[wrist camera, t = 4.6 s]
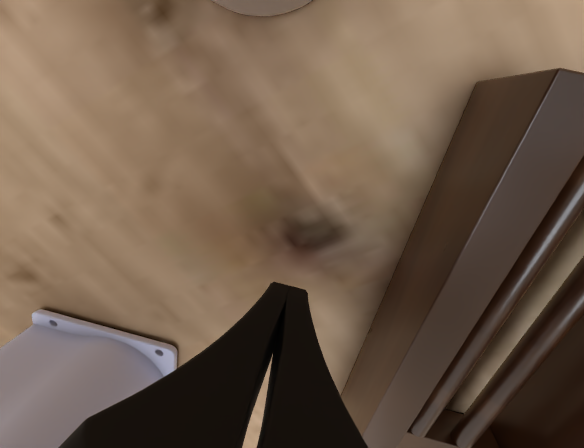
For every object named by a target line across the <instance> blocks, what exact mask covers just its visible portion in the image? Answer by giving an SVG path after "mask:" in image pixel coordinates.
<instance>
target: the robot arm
mask: <svg viewBox="0 0 584 448" xmlns="http://www.w3.org/2000/svg"><path fill="white" fill-rule="evenodd" d="M32 320H33V325H32V326H30V327H29V328H27V329H26V330H25V331H23V332H22V333H21V334H19V335H18V336H16V337H15V338H14V339H12V340H11V341H9V342H8V343H7V344H5V345H4V346H3V347H1V348H0V448H242V446H243V442H244V438H245V435H246V431H247V427H248V424H249V421H250V417H251V414H252V411H253V408H254V405H255V403H256V400H257V397H258V394H259V391H260V388H261V386H262V383H263V380H264V377H265V374H266V371H267V369H268V366H269V363H270V360H271V357H272V354H273V358H272V364H271V371H270V377H269V384H268V390H267V397H266V404H265V410H264V416H263V422H262V427H261V432H260V436H259V441H258V445H257V448H369V447H368V446H367V444H366V443H365V441H364V439H363V437H362V436H361V434H360V432H359V430H358V428H357V427H356V425H355V423H354V421H353V419H352V417H351V416H350V414H349V412H348V410H347V408H346V407H345V405H344V403H343V401H342V398H341V396H340V394H339V392H338V390H337V388H336V386H335V384H334V381H333V379H332V377H331V375H330V372H329V370H328V367H327V365H326V362H325V360H324V357H323V354H322V351H321V349H320V346H319V343H318V339H317V336H316V333H315V329H314V326H313V322H312V318H311V313H310V308H309V302H308V293H307V291H306V290H304V289H300V288H296V287H292V286H288V285H284V284H281V283H277V282H273V283H271V284H270V286H269V287H268V289H267V290H266V291H265V293H264V294H263V295H262V297H261V298H260V299H259V300H258V301H257V302H256V304H255V305H254V306H253V307H252V308H251V309H250V310H249V311H248V312H247V313H246V314H245V315H244V316H243V317H242V318H241V319H240V320H239V321H238V322H237V323H236V324H235V325H234V326H233V327H231V328H230V329H229V330H228V331H227V332H226V333H225V334H224V335H222V336H221V337H220V338H219V339H218V340H216V341H215V342H214V343H213V344H211V345H210V346H209V347H207V348H206V349H205V350H203V351H202V352H201V353H199V354H198V355H196V356H195V357H194V358H192V359H191V360H189V361H188V362H187V363H185V364H184V365H182V366H181V367H179V368H177V349H176V348H175V347H174V346H173V345H170V344H167V343H163V342H159V341H156V340H152V339H149V338H145V337H141V336H138V335H134V334H130V333H127V332H123V331H120V330H116V329H112V328H109V327H105V326H101V325H98V324H94V323H90V322H87V321H83V320H80V319H76V318H72V317H69V316H65V315H61V314H58V313H54V312H50V311H47V310H43V309H39V310H37V311H35V312H34V313H33V314H32Z"/></svg>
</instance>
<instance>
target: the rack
mask: <svg viewBox="0 0 584 448" xmlns="http://www.w3.org/2000/svg"><path fill="white" fill-rule="evenodd" d="M583 209H584V73H582V72H577V71H572V70H567V69H563V68H557V69H551V70H545V71H539V72H533V73H527V74H521V75H515V76H509V77H503V78H497V79H491V80H485V81H479V82H477V83H476V86H475V88H474V90H473V93H472V95H471V97H470V100H469V102H468V104H467V107H466V109H465V111H464V113H463V116H462V118H461V120H460V123H459V125H458V127H457V130H456V132H455V134H454V137H453V139H452V141H451V143H450V146H449V148H448V150H447V153H446V155H445V157H444V160H443V162H442V164H441V167H440V169H439V171H438V173H437V176H436V178H435V180H434V183H433V185H432V187H431V190H430V192H429V194H428V197H427V199H426V201H425V203H424V206H423V208H422V210H421V213H420V215H419V217H418V220H417V222H416V224H415V226H414V229H413V231H412V233H411V236H410V238H409V240H408V243H407V245H406V247H405V250H404V252H403V254H402V256H401V259H400V261H399V263H398V266H397V268H396V270H395V273H394V275H393V277H392V280H391V282H390V284H389V286H388V289H387V291H386V293H385V296H384V298H383V300H382V303H381V305H380V307H379V310H378V312H377V314H376V316H375V319H374V321H373V323H372V326H371V328H370V330H369V333H368V335H367V337H366V340H365V342H364V344H363V346H362V349H361V351H360V353H359V356H358V358H357V360H356V363H355V365H354V367H353V369H352V372H351V374H350V376H349V379H348V381H347V383H346V386H345V388H344V390H343V393H342V395H341V398H342V401H343V403H344V405H345V407H346V408H347V410H348V412H349V414H350V416H351V417H352V419H353V421H354V423H355V425H356V427H357V428H358V430H359V432H360V434H361V436H362V437H363V439H364V441H365V443H366V444H367V446H368V447H369V448H584V256H583V258H582V259H581V260H580V262H579V263H578V264H577V266H576V267H575V268H574V270H573V271H572V272H571V274H570V275H569V276H568V277H567V279H566V280H565V281H564V283H563V284H562V285H561V287H560V288H559V289H558V291H557V292H556V293H555V295H554V296H553V297H552V299H551V300H550V301H549V303H548V304H547V305H546V307H545V308H544V309H543V311H542V312H541V313H540V315H539V316H538V317H537V319H536V320H535V321H534V323H533V324H532V325H531V327H530V328H529V329H528V331H527V332H526V333H525V334H524V336H523V337H522V338H521V340H520V341H519V342H518V344H517V345H516V346H515V348H514V349H513V350H512V352H511V353H510V354H509V356H508V357H507V358H506V360H505V361H504V362H503V364H502V365H501V366H500V368H499V369H498V370H497V372H496V373H495V374H494V376H493V377H492V378H491V380H490V381H489V382H488V384H487V385H486V386H485V388H484V389H483V390H482V391H481V393H480V394H479V395H478V397H477V398H476V399H475V401H474V402H473V403H472V405H471V406H470V407H469V409H468V410H467V411H466V413H465V414H464V415H463V414H460V413H456V412H452V411H449V410H445V409H444V408H445V407H446V406H447V404H448V403H449V401H450V400H451V398H452V397H453V395H454V394H455V393H456V391H457V390H458V388H459V387H460V385H461V384H462V383H463V381H464V380H465V378H466V377H467V375H468V374H469V373H470V371H471V370H472V368H473V367H474V365H475V364H476V362H477V361H478V360H479V358H480V357H481V355H482V354H483V352H484V351H485V350H486V348H487V347H488V345H489V344H490V342H491V341H492V339H493V338H494V337H495V335H496V334H497V332H498V331H499V329H500V328H501V327H502V325H503V324H504V322H505V321H506V319H507V318H508V316H509V315H510V314H511V312H512V311H513V309H514V308H515V306H516V305H517V304H518V302H519V301H520V299H521V298H522V296H523V295H524V293H525V292H526V291H527V289H528V288H529V286H530V285H531V283H532V282H533V281H534V279H535V278H536V276H537V275H538V273H539V272H540V270H541V269H542V268H543V266H544V265H545V263H546V262H547V260H548V259H549V258H550V256H551V255H552V253H553V252H554V250H555V249H556V247H557V246H558V245H559V243H560V242H561V240H562V239H563V237H564V236H565V235H566V233H567V232H568V230H569V229H570V227H571V226H572V225H573V223H574V222H575V220H576V219H577V217H578V216H579V214H580V213H581V212H582V210H583Z"/></svg>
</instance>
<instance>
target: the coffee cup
mask: <svg viewBox="0 0 584 448" xmlns="http://www.w3.org/2000/svg"><path fill="white" fill-rule="evenodd" d="M211 1H213V2H215V3H216V4H218V5H220V6H222V7H224V8H226V9H228V10H231V11H234V12H236V13H240V14H244V15H251V16H275V15H279V14H284V13H287V12H290V11H293V10H296V9H298V8H301V7H303V6H304V5H306V4H308V3H309V2H311V1H312V0H211Z"/></svg>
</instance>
